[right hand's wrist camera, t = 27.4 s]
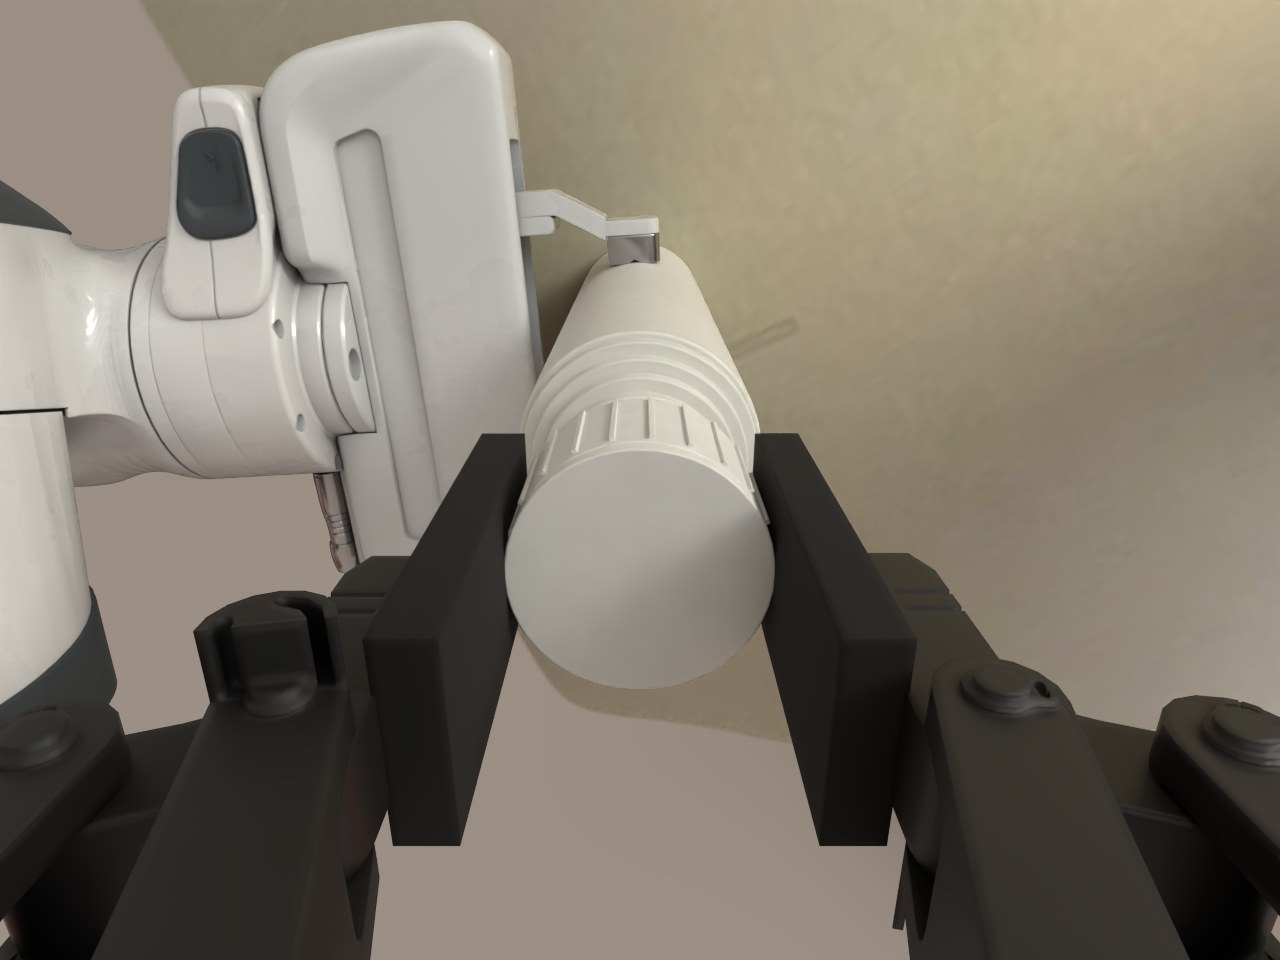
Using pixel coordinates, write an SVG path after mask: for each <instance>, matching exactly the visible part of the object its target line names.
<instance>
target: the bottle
mask: <svg viewBox="0 0 1280 960" xmlns="http://www.w3.org/2000/svg"><path fill="white" fill-rule="evenodd" d="M648 397H651V398H653V400H658V401H663V402H669V403H672V404H675V405H678V406H682V405H686V406H687V409H689V410H691V411H693V412H695V413H697V414H699V415H701V416H702V417H704V418H705V419H707V420H709V421H710V422H712V421H714V422H716V423H717V426H718V428H719V429H720V430H721V431H722V432H723V433H724V434H725V435H726V436H727V437H728V438H729V440H730V441H731V442H732V443H733V445H736V444H737V445H738V446H739V448H740V451H741V454H742V457H743V459H744V462H745V465H746V467H747V470H748V473H751V472H752V474H753V458H754V441H755V433H760V429H759V423H758V418H757V415H756V412H755V409H754V406H753V403H752V401H751V399H750V396H749V394H748V392H747V390H746V388H745V386H744V384H743V381H742V379H741V377H740V375H739V373H738V371H737V369H736V367H735V364H734V362H733V360H732V358H731V356H730V354H729V352H728V350H727V347H726V345H725V343H724V341H723V339H722V337H721V335H720V333H719V330H718V328H717V326H716V324H715V322H714V320H713V318H712V315H711V313H710V311H709V309H708V307H707V305H706V303H705V301H704V298H703V296H702V294H701V292H700V290H699V288H698V286H697V284H696V281H695V279H694V277H693V275H692V273H691V271H690V270H689V268H688V267H687V266H686V264H685V263H684V262H683V261H682V260H681V259H680V258H679V257H678V256H677V255H675V254H674V253H673V252H671V251H669V250H668V249H666V248H663V247H661V246H660V261H659V262H655V263H640V262H638V261H637V260H635V259H634V260H633V261H632V262H631V263H629V264H624V265H610V266H609V256H608V252H607V253H606V254H604V255H603V256H602V257H601V258H600V259H599V260H598V261H597V262H596V263H595V264H594V265H593V267H592V268H591V269H590V271H589V273H588V275H587V276H586V279H585V281H584V283H583V285H582V287H581V289H580V291H579V293H578V296H577V298H576V300H575V302H574V304H573V306H572V308H571V310H570V312H569V315H568V317H567V319H566V321H565V323H564V325H563V327H562V329H561V332H560V334H559V336H558V338H557V340H556V342H555V344H554V346H553V349H552V351H551V353H550V355H549V357H548V359H547V361H546V363H545V365H544V368H543V370H542V372H541V374H540V376H539V378H538V380H537V382H536V385H535V387H534V389H533V391H532V393H531V395H530V397H529V400H528V402H527V405H526V407H525V410H524V413H523V417H522V421H521V425H520V433H525V445H526V463H527V475H528V472H529V469H530V467H531V464H532V461H533V458H534V456H535V455H538V456H539V454H540V453H541V451H542V450H543V448H544V447H545V445H546V444H547V442H548V441H549V440H550V439H551V437H552V434H553V431H554V430H555V429H557V430H558V431H559V430H560V429H561V428H562V427H563V426H564V425H565V424H567V423H568V422H569V421H571V420H572V419H574V418H576V417H577V416H579V415H580V412H581V411H583V410H585V412H586V411H588V410H590V409H592V408H595V407H598V406H601V405H604V404H607V403H611V402H613V400H615V399H618V401H621V400H632V399H647V400H648Z"/></svg>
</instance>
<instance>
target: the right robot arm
mask: <svg viewBox="0 0 1280 960" xmlns="http://www.w3.org/2000/svg"><path fill="white" fill-rule="evenodd" d="M753 476H754V479H755V482H756V485H757V487H758V490H759V493H760V496H761V498H762V501H763V504H764V507H765V509H766V512H767V515H768V518H769V521H770V524H768V525H767V527H768V530H769V533H770V537H771V540H772V543H773V548H774V554H775V576H774V588H773V594H772V598H771V601H770V604H769V607H768V609H767V612H766V614H765V616H764V618H763V621H762V622H761V625H762V628H763V632H764V636H765V640H766V644H767V647H768V651H769V655H770V659H771V663H772V666H773V670H774V674H775V678H776V682H777V685H778V689H779V693H780V697H781V701H782V705H783V708H784V712H785V716H786V720H787V724H788V727H789V731H790V735H791V739H792V743H793V746H794V750H795V754H796V758H797V762H798V765H799V769H800V773H801V777H802V781H803V784H804V788H805V792H806V796H807V800H808V803H809V807H810V811H811V815H812V819H813V822H814V826H815V830H816V834H817V838H818V841H819V845H820V846H887V841H888V834H889V828H890V821H891V814H892V808H894V811H895V813H896V816H897V819H898V821H899V824H900V826H901V829H902V831H903V834H904V836H905V839H906V845H905V851H904V857H903V864H902V870H901V876H900V882H899V889H898V895H897V901H896V907H895V914H894V920H893V927H892V928H894V929H899V930H903V927H904V922H905V919H906V928H907V937H908V946H909V955H910V960H1280V942H1279V941H1278V940H1277V939H1276V938H1275V937H1274V935H1273V934H1272V933H1271V931H1272V929H1273V926H1274V924H1275V921H1276V919H1277V916H1278V915H1279V916H1280V717H1278V716H1276V715H1274V714H1271V713H1269V712H1267V711H1265V710H1263V709H1262V708H1260V707H1258V706H1255V705H1252V704H1249V703H1245V702H1242V703H1241V702H1238V700H1234V699H1228V698H1220V697H1209V696H1198V695H1194V696H1189V697H1183V698H1177V699H1174V700H1172V701H1171V702H1170V703H1169V704H1167V705H1166V706H1165V707H1164V708H1163V709H1162V712H1161V716H1160V719H1159V722H1158V726H1157V729H1156V732H1155V731H1150V730H1145V729H1140V728H1135V727H1130V726H1125V725H1120V724H1114V723H1109V722H1104V721H1099V720H1095V719H1091V718H1087V717H1083V716H1080V715H1076V713H1075V711H1074V709H1073V707H1072V705H1071V703H1070V701H1069V700H1068V698H1067V697H1066V696H1065V694H1064V693H1063V692H1062V691H1061V689H1060V688H1059V687H1058V686H1057V685H1056V684H1054V683H1053V682H1051V681H1050V680H1049V679H1047V678H1046V677H1044V676H1043V675H1041V674H1040V673H1038V672H1036V671H1034V670H1031V669H1029V668H1027V667H1024V666H1022V665H1019V664H1017V663H1014V662H1011V661H1006V660H1001V659H999V658H998V657H997V655H996V654H995V653H994V651H993V650H992V649H991V647H990V646H989V644H988V643H987V642H986V640H985V639H984V637H983V636H982V635H981V633H980V632H979V631H978V629H977V628H976V626H975V625H974V624H973V622H972V621H971V619H970V618H969V617H968V615H967V614H966V613H965V611H961V606H960V604H959V603H958V602H957V600H956V599H955V597H954V596H953V595H952V594H949V589H948V588H947V586H946V585H945V584H944V582H943V581H942V579H941V578H940V577H939V575H938V574H937V572H936V571H935V570H934V569H932V568H930V567H929V566H927V565H926V564H924V563H923V562H921V561H920V560H918V559H916V558H915V557H913V556H912V555H910V554H909V553H867V551H866V550H865V548H864V546H863V545H862V543H861V541H860V539H859V538H858V536H857V534H856V532H855V531H854V529H853V527H852V526H851V524H850V522H849V520H848V519H847V517H846V515H845V514H844V512H843V510H842V508H841V507H840V505H839V503H838V502H837V500H836V498H835V496H834V495H833V493H832V491H831V490H830V488H829V486H828V484H827V483H826V481H825V479H824V478H823V476H822V474H821V472H820V471H819V469H818V467H817V466H816V464H815V462H814V460H813V459H812V457H811V455H810V454H809V452H808V450H807V448H806V447H805V445H804V443H803V442H802V440H801V438H800V436H799V435H798V433H755V441H754V458H753ZM526 478H527V463H526V445H525V433H482V434H481V436H480V438H479V439H478V441H477V443H476V445H475V446H474V448H473V450H472V451H471V453H470V455H469V457H468V458H467V460H466V462H465V463H464V465H463V467H462V469H461V470H460V472H459V474H458V475H457V477H456V479H455V481H454V482H453V484H452V486H451V487H450V489H449V491H448V493H447V494H446V496H445V498H444V499H443V501H442V503H441V505H440V506H439V508H438V510H437V511H436V513H435V515H434V517H433V518H432V520H431V522H430V524H429V525H428V527H427V529H426V530H425V532H424V534H423V536H422V537H421V539H420V541H419V542H418V544H417V546H416V548H415V549H414V551H413V553H412V554H411V556H371V557H369V558H368V559H366V560H365V561H363V562H362V563H360V564H358V565H357V566H355V567H354V568H352V569H351V570H349V571H348V572H346V573H345V574H344V576H343V577H342V578H341V580H340V581H339V582H338V584H337V585H336V587H335V588H334V589H333V591H332V592H331V597H328V598H327V597H326V596H324V595H320V594H316V593H312V592H308V591H277V592H272V593H266V594H261V595H255V596H251V597H249V598H246V599H243V600H240V601H237V602H234V603H232V604H229V605H227V606H225V607H223V608H221V609H220V610H218V611H216V612H215V613H213V614H211V615H209V616H208V617H206V618H205V619H204V620H203V621H202V623H201V624H200V625H199V626H198V627H197V628H196V629H195V630H194V631H193V633H194V637H195V641H196V645H197V649H198V654H199V658H200V662H201V666H202V670H203V674H204V678H205V683H206V687H207V691H208V695H209V699H210V704H209V706H208V708H207V710H206V713H205V715H204V717H203V718H202V719H199V720H195V721H191V722H187V723H183V724H179V725H173V726H168V727H163V728H158V729H153V730H148V731H143V732H138V733H133V734H128V735H125V734H124V730H123V727H122V723H121V720H120V717H119V713H118V712H117V711H116V710H115V709H114V708H112V707H111V706H110V705H109V704H108V703H106V702H100V701H94V700H88V699H79V700H68V701H56V702H51V703H46V704H43V706H39V705H38V706H35V707H32V708H28V709H25V710H23V711H21V712H19V713H18V714H16V715H14V716H11V717H9V718H7V719H5V720H2V721H0V921H1V920H2V919H4V922H5V924H6V927H7V929H8V932H9V934H10V936H9V937H8V939H7V940H6V941H5V942H4V943H3V945H2V946H1V947H0V960H370V956H371V948H372V939H373V930H374V921H375V912H376V903H377V894H378V886H379V871H378V864H377V858H376V851H375V845H374V842H375V840H376V837H377V835H378V832H379V830H380V827H381V825H382V822H383V819H384V817H385V814H386V812H387V809H388V816H389V823H390V829H391V836H392V843H393V846H460V844H461V840H462V837H463V833H464V829H465V825H466V821H467V818H468V814H469V810H470V806H471V802H472V799H473V795H474V791H475V787H476V784H477V779H478V776H479V772H480V768H481V765H482V761H483V757H484V753H485V749H486V746H487V742H488V738H489V734H490V730H491V726H492V723H493V719H494V715H495V711H496V707H497V704H498V700H499V696H500V692H501V688H502V685H503V681H504V677H505V673H506V669H507V666H508V662H509V658H510V654H511V650H512V647H513V643H514V639H515V635H516V631H517V628H518V624H519V623H518V622H517V619H516V617H515V615H514V613H513V611H512V609H511V606H510V603H509V600H508V596H507V592H506V580H505V565H504V557H505V550H506V545H507V541H508V531H509V529H510V526H511V523H512V520H513V517H514V515H515V512H516V509H517V506H518V504H517V503H518V500H519V497H520V494H521V492H522V489H523V486H524V483H525V481H526Z"/></svg>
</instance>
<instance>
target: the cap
mask: <svg viewBox="0 0 1280 960" xmlns="http://www.w3.org/2000/svg"><path fill="white" fill-rule="evenodd" d="M517 504H518V506H517V509H516V512H515V515H514V517H513V520H512V523H511V526H510V529H509V531H508V541H507V545H506V550H505V557H504V565H505V580H506V592H507V596H508V600H509V603H510V606H511V609H512V611H513V613H514V615H515V617H516V619H517V622H518V623H519V625H520V626H521V628H522V630H523V631H524V633H525V634H526V636H527V637H528V638H529V639H530V640H531V642H532V643H533V644H534V645H535V646H536V647H537V649H539V650H540V651H541V652H542V653H543V654H544V655H545V656H546V657H547V658H549V659H550V660H551V661H553V662H554V663H556V664H557V665H558V666H560V667H561V668H563V669H565V670H566V671H568V672H570V673H572V674H574V675H576V676H578V677H580V678H583V679H585V680H588V681H590V682H593V683H597V684H601V685H604V686H608V687H615V688H621V689H635V690H646V689H659V688H665V687H671V686H675V685H679V684H682V683H686V682H689V681H692V680H694V679H696V678H699V677H701V676H704V675H706V674H708V673H709V672H711V671H713V670H715V669H716V668H718V667H720V666H721V665H723V664H724V663H725V662H727V661H728V660H729V659H731V658H732V657H733V656H734V655H735V654H736V653H737V652H739V651H740V650H741V649H742V648H743V647H744V646H745V645H746V643H747V642H748V641H749V640H750V638H751V637H752V636H753V635H754V633H755V632H756V630H757V629H758V627H759V625H760V624H761V622H762V621H763V618H764V616H765V614H766V612H767V609H768V607H769V604H770V601H771V598H772V594H773V588H774V576H775V554H774V548H773V543H772V540H771V537H770V533H769V530H768V527H767V525H768V524H770V521H769V518H768V515H767V512H766V509H765V507H764V504H763V501H762V498H761V496H760V493H759V490H758V487H757V485H756V482H755V479H754V476H753V474H752V472H751V473H748V470H747V467H746V465H745V462H744V459H743V457H742V454H741V451H740V448H739V446H738V445H737V444H736V445H733V443H732V442H731V441H730V440H729V438H728V437H727V436H726V435H725V434H724V433H723V432H722V431H721V430H720V429H719V428H718V426H717V423H716V422H714V421H712V422H710V421H709V420H707V419H705V418H704V417H702V416H701V415H699V414H697V413H695V412H693V411H691V410H689V409H687V406H686V405H682V406H678V405H675V404H672V403H669V402H663V401H658V400H653V398H651V397H648V400H647V399H632V400H621V401H618V399H615V400H613V402H611V403H607V404H604V405H601V406H598V407H595V408H592V409H590V410H588V411H586V412H585V410H583V411H581V412H580V415H579V416H577V417H576V418H574V419H572V420H571V421H569V422H568V423H567V424H565V425H564V426H563V427H562V428H561V429H560V430H559V431H558V430H557V429H555V430H554V431H553V434H552V437H551V439H550V440H549V441H548V442H547V444H546V445H545V447H544V448H543V450H542V451H541V453H540V454H539V456H538V455H535V456H534V458H533V461H532V464H531V467H530V469H529V472H528V475H527V478H526V481H525V483H524V486H523V489H522V492H521V494H520V497H519V500H518V503H517Z"/></svg>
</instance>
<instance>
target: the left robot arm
mask: <svg viewBox="0 0 1280 960" xmlns="http://www.w3.org/2000/svg"><path fill="white" fill-rule="evenodd" d="M559 218H560V219H562V220H564V221H566V222H568V223H570V224H572V225H574V226H576V227H578V228H580V229H582V230H584V231H586V232H588V233H590V234H592V235H594V236H596V237H598V238H600V239H602V240H604V241H606V240H607V246H608V256H609V266H610V265H624V264H629V263H631V262H632V261H633V260H634V259H635V260H637V261H638V262H640V263H655V262H659V261H660V244H659V223H658V216H650V215H647V216H632V217H617V218H607V214H605V213H603V212H601V211H599V210H597V209H595V208H593V207H592V206H590V205H588V204H586V203H584V202H582V201H580V200H578V199H576V198H574V197H572V196H570V195H568V194H566V193H565V192H563V191H561V190H559V189H545V190H529V191H525V182H524V172H523V163H522V154H521V145H520V135H519V126H518V117H517V108H516V98H515V89H514V80H513V71H512V63H511V59H510V57H509V55H508V53H507V52H506V51H505V49H504V48H503V47H502V46H501V45H500V44H499V43H498V42H497V41H496V40H495V39H494V38H493V37H492V36H491V35H489V34H488V33H487V32H486V31H484V30H483V29H481V28H480V27H478V26H477V25H475V24H472V23H469V22H466V21H438V22H428V23H420V24H413V25H405V26H399V27H394V28H388V29H382V30H377V31H372V32H367V33H363V34H358V35H354V36H350V37H346V38H342V39H338V40H334V41H330V42H327V43H323V44H320V45H317V46H314V47H311V48H308V49H305V50H303V51H301V52H299V53H297V54H295V55H293V56H291V57H290V58H288V59H287V60H285V61H284V62H283V63H281V64H280V65H279V66H278V67H277V68H276V69H275V70H274V72H273V73H272V74H271V76H270V77H269V79H268V80H267V82H266V84H265V87H264V88H263V87H256V86H250V85H213V86H205V87H198V88H193V89H189V90H187V91H185V92H183V93H182V94H181V95H180V96H179V97H178V99H177V101H176V104H175V107H174V112H173V121H172V147H171V177H170V198H169V213H168V225H167V236H166V237H162V238H159V239H156V240H153V241H150V242H147V243H144V244H141V245H138V246H135V247H131V248H127V249H118V250H102V249H97V248H93V247H89V246H85V245H79V244H75V243H74V242H73V241H72V239H71V234H72V232H71V231H69V230H68V229H67V228H66V227H65V226H64V225H63V224H62V223H61V222H59V221H58V220H57V219H56V218H55V217H53V216H52V215H51V214H50V213H48V212H47V211H46V210H44V209H43V208H41V207H40V206H39V205H37V204H35V203H34V202H32V201H31V200H29V199H28V198H26V197H25V196H23V195H22V194H20V193H19V192H17V191H16V190H15V189H13V188H12V187H10V186H8V185H7V184H5V183H4V182H2V181H1V180H0V721H2V720H5V719H7V718H9V717H11V716H14V715H16V714H18V713H19V712H21V711H23V710H25V709H28V708H32V707H35V706H38V705H39V706H43V704H46V703H51V702H56V701H68V700H79V699H88V700H94V701H100V702H106V703H108V704H109V703H110V701H111V699H112V698H113V696H114V694H115V691H116V687H117V679H116V675H115V671H114V667H113V663H112V659H111V655H110V651H109V647H108V644H107V640H106V636H105V632H104V628H103V624H102V620H101V615H100V611H99V608H98V603H97V599H96V596H95V594H94V591H93V589H92V588H91V587H90V586H89V583H88V577H87V570H86V564H85V558H84V551H83V544H82V538H81V531H80V525H79V518H78V512H77V505H76V499H75V492H74V487H83V486H97V485H106V484H112V483H116V482H120V481H123V480H126V479H129V478H131V477H134V476H136V475H140V474H143V473H148V472H157V471H158V472H170V473H174V474H178V475H181V476H187V477H192V478H199V479H217V478H236V477H252V476H269V475H289V474H306V473H313V476H314V481H315V485H316V489H317V494H318V498H319V502H320V506H321V509H322V512H323V515H324V518H325V519H326V523H327V526H328V530H329V534H330V539H331V541H330V550H331V555H332V558H333V561H334V564H335V566H336V568H337V569H338V571H339V572H341V573H346V572H348V571H349V570H351V569H352V568H354V567H355V566H357V565H358V564H360V563H362V562H363V561H365V560H366V559H368V558H369V557H371V556H411V554H412V553H413V551H414V549H415V548H416V546H417V544H418V542H419V541H420V539H421V537H422V536H423V534H424V532H425V530H426V529H427V527H428V525H429V524H430V522H431V520H432V518H433V517H434V515H435V513H436V511H437V510H438V508H439V506H440V505H441V503H442V501H443V499H444V498H445V496H446V494H447V493H448V491H449V489H450V487H451V486H452V484H453V482H454V481H455V479H456V477H457V475H458V474H459V472H460V470H461V469H462V467H463V465H464V463H465V462H466V460H467V458H468V457H469V455H470V453H471V451H472V450H473V448H474V446H475V445H476V443H477V441H478V439H479V438H480V436H481V434H482V433H520V425H521V421H522V417H523V413H524V410H525V407H526V405H527V402H528V400H529V397H530V395H531V393H532V391H533V389H534V387H535V385H536V382H537V380H538V378H539V376H540V374H541V372H542V370H543V368H544V357H543V348H542V339H541V329H540V320H539V311H538V302H537V292H536V283H535V274H534V265H533V255H532V246H531V237H530V236H534V235H547V234H552V233H553V232H555V231H556V230H557V229H558V228H559V227H560V220H559Z"/></svg>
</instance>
